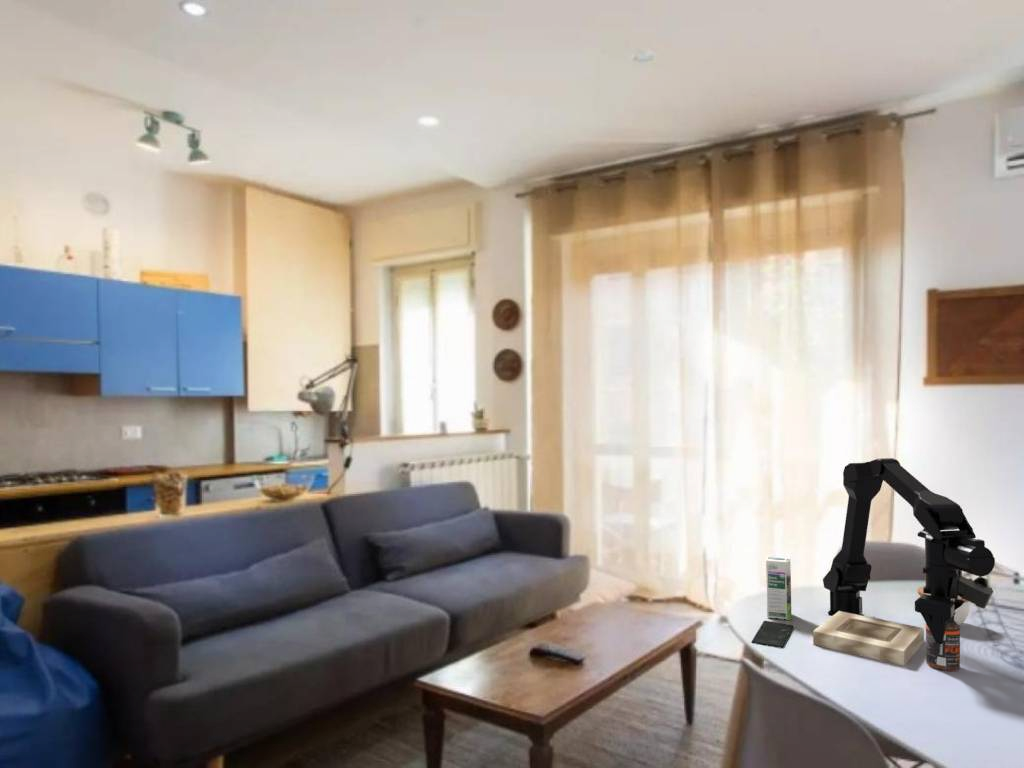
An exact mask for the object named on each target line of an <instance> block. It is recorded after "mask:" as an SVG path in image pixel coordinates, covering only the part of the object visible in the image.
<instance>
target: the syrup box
mask: <svg viewBox="0 0 1024 768" xmlns="http://www.w3.org/2000/svg"><path fill="white" fill-rule="evenodd" d="M765 565H766V568H765V569H766V572H765V573H766V617H769V618H768V619H775V618H778V619H777V620H784V619H786V620H787V621H792V578H791V577H792V575H791V573H792V570H791V569H792V567H791V557H784V556H770V555H767V556H766V562H765ZM786 620H785V621H786Z"/></svg>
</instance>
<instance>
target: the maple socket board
mask: <svg viewBox="0 0 1024 768" xmlns="http://www.w3.org/2000/svg"><path fill="white" fill-rule="evenodd" d="M812 635H813V636H812V642H813V643H812V644H813V646H814V645H815V646H818V647H823V648H828V649H832V650H835V651H840V652H843V653H847V654H852V655H857V656H859V657H860V656H861V657H865V658H868V659H873V660H878V661H883V662H886V663H890V664H893V665H898V666H903V667H904V666H906V664H907V663H908V662H909V661H910V659H911V658H912V657H913V656H914V654H916V652H917V650H919V648H920V647H921V646H922V644H923V643H925V628H924V627H921V626H915V625H911V624H906V623H900V622H897V621H890V620H884V619H880V618H875V617H872V616H871V617H870V616H866V615H862V614H861V615H857V614H852V613H847V612H842V611H838V612H837V613H836V614H834V615H831V616H830V617H829V618H828V619H826V620H825V621H824V622H823V623H821V624H820V625H819V626H818V627H816V628H815V629H814V630H813V631H812Z"/></svg>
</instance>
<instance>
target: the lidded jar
mask: <svg viewBox="0 0 1024 768" xmlns="http://www.w3.org/2000/svg"><path fill="white" fill-rule="evenodd" d="M925 586H926V585H922V586H919V587H918V588H917V595H918V596H917V599H918V598H919V597H920V596H922V595H923V594H926V595H931V594H927V593H923V588H924V587H925ZM958 600H963V601H965V602H964V603H963V605H962V606H960V607H959V608H957V609H956V610H955V613H956V614H955V615H954V621H955V622H956V623H957V624H958V625H959V626H960V625H962V624H964V622H965V621H966V620H967V619H968V617H969V613H970V607H971V606H970V603H971V602H969V601H967V600H965V599H962V598H961V597H960V596H958Z"/></svg>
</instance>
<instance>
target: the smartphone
mask: <svg viewBox="0 0 1024 768" xmlns="http://www.w3.org/2000/svg"><path fill="white" fill-rule="evenodd" d="M793 629H794V624H790V623H783V622H777V621H769V620H764V621H763V622H762V624H761V625H760V627H759V628H758V630H757V631H756V634H755V635H754V637H753V639H752V640H751V643H752V644H754V643H756V644H755V645H761V646H767V645H768V646H767V647H771V646H772V647H773V646H774V647H773V648H777V647H781V648H780V649H784V648H785V646H786V644H787V642H788V640H789V638H790V636H791V634H792V631H793ZM790 633H791V634H790ZM788 637H789V638H788ZM787 639H788V640H787ZM786 641H787V642H786ZM785 643H786V644H785ZM784 645H785V646H784ZM783 647H784V648H783Z"/></svg>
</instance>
